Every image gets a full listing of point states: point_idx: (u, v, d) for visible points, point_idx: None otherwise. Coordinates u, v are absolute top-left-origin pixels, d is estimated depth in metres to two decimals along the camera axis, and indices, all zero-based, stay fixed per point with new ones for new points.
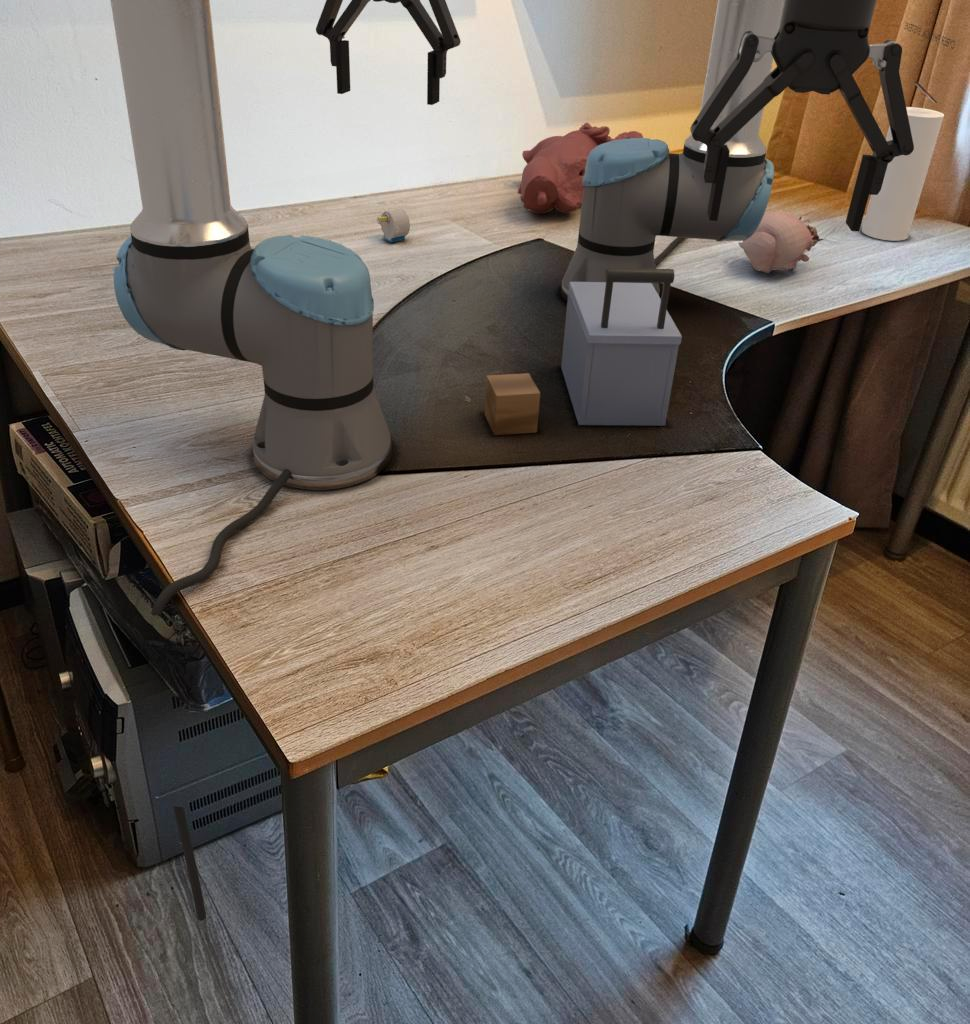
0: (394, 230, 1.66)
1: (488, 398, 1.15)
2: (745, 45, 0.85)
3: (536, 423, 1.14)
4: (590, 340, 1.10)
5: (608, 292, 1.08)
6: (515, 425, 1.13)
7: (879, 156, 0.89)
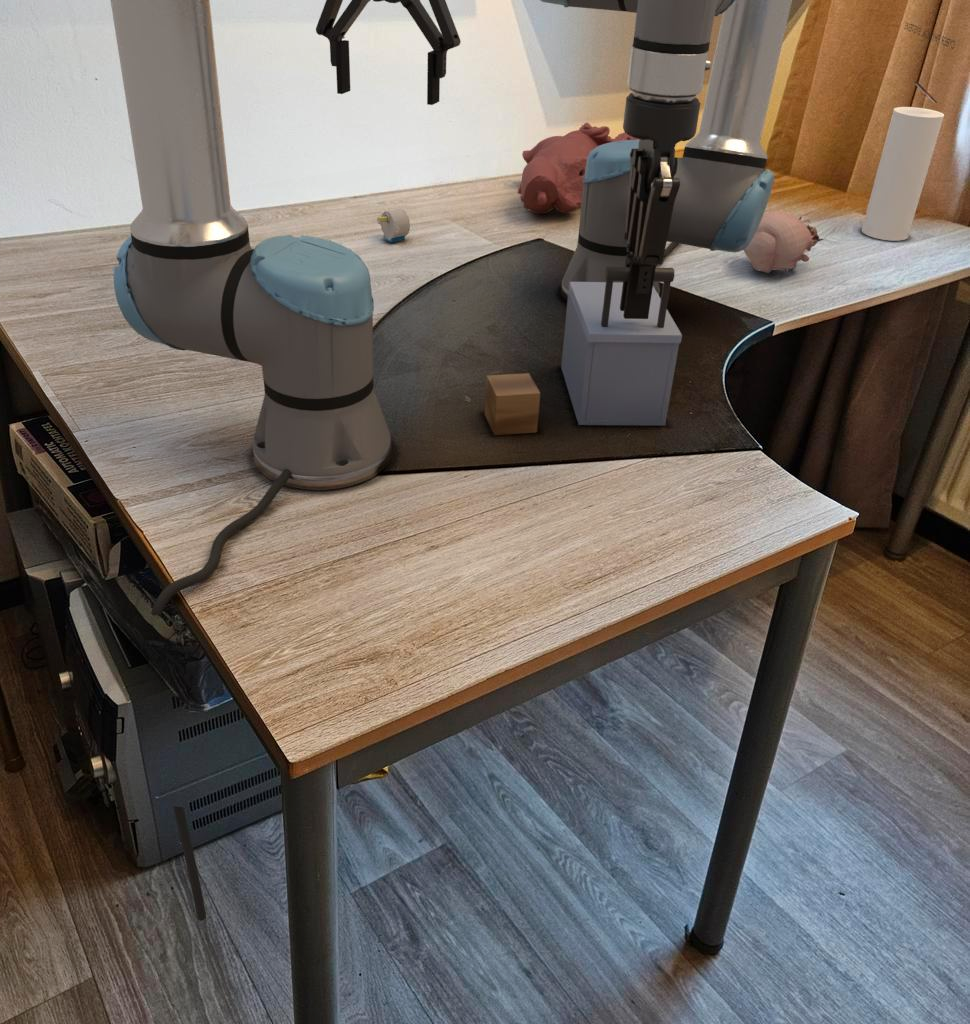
0: (394, 230, 1.66)
1: (488, 398, 1.15)
2: (677, 190, 0.97)
3: (536, 423, 1.14)
4: (590, 339, 1.09)
5: (608, 291, 1.08)
6: (515, 425, 1.13)
7: None
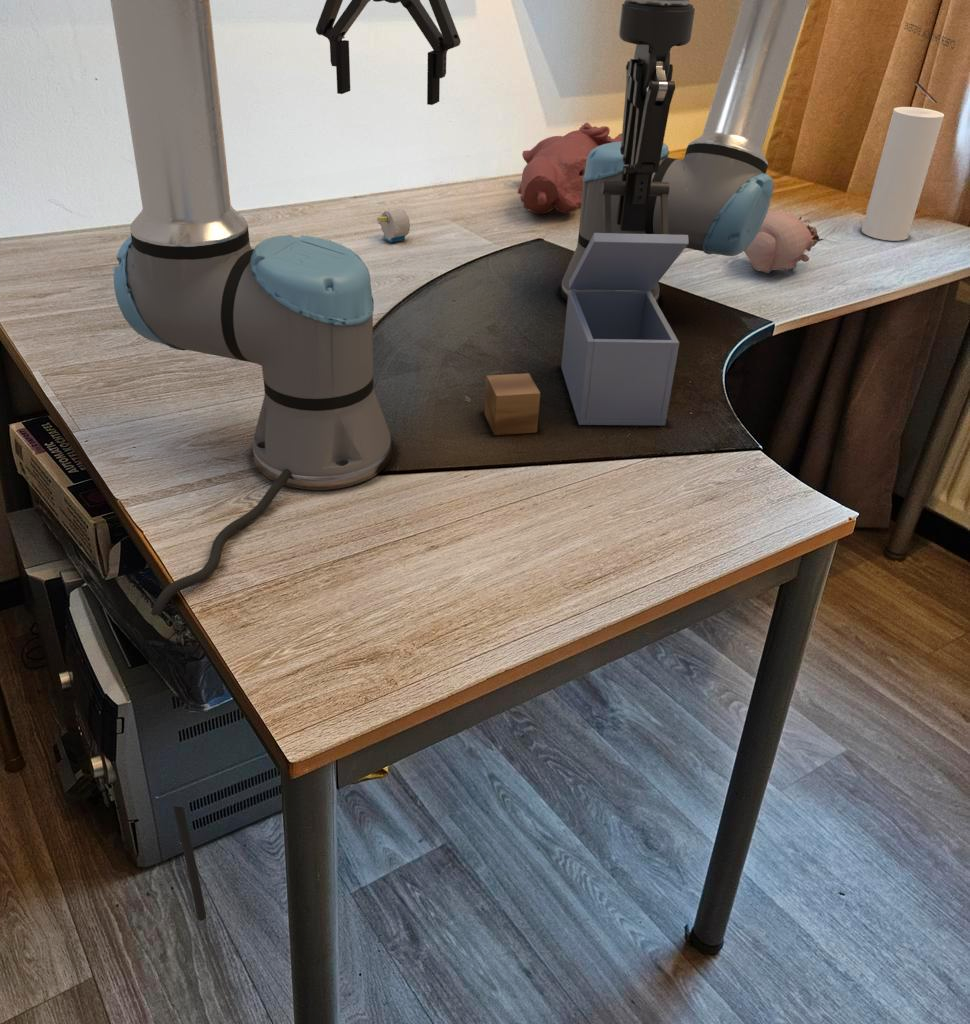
0: (394, 230, 1.66)
1: (488, 398, 1.15)
2: (672, 93, 0.99)
3: (536, 423, 1.14)
4: (595, 238, 1.07)
5: (607, 202, 1.09)
6: (515, 425, 1.13)
7: None
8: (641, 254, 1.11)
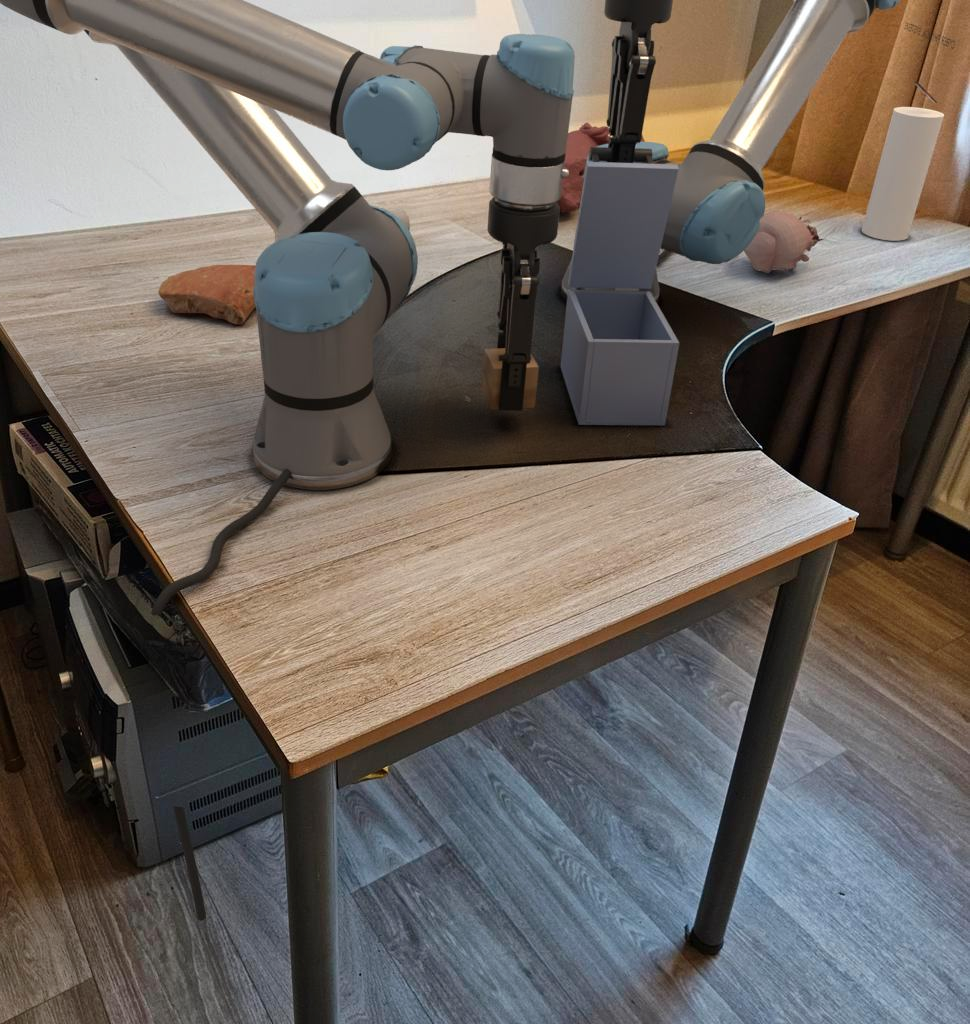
0: None
1: (485, 372, 1.13)
2: (653, 67, 1.06)
3: (534, 398, 1.12)
4: (588, 164, 1.11)
5: (596, 159, 1.16)
6: None
7: None
8: (635, 196, 1.14)
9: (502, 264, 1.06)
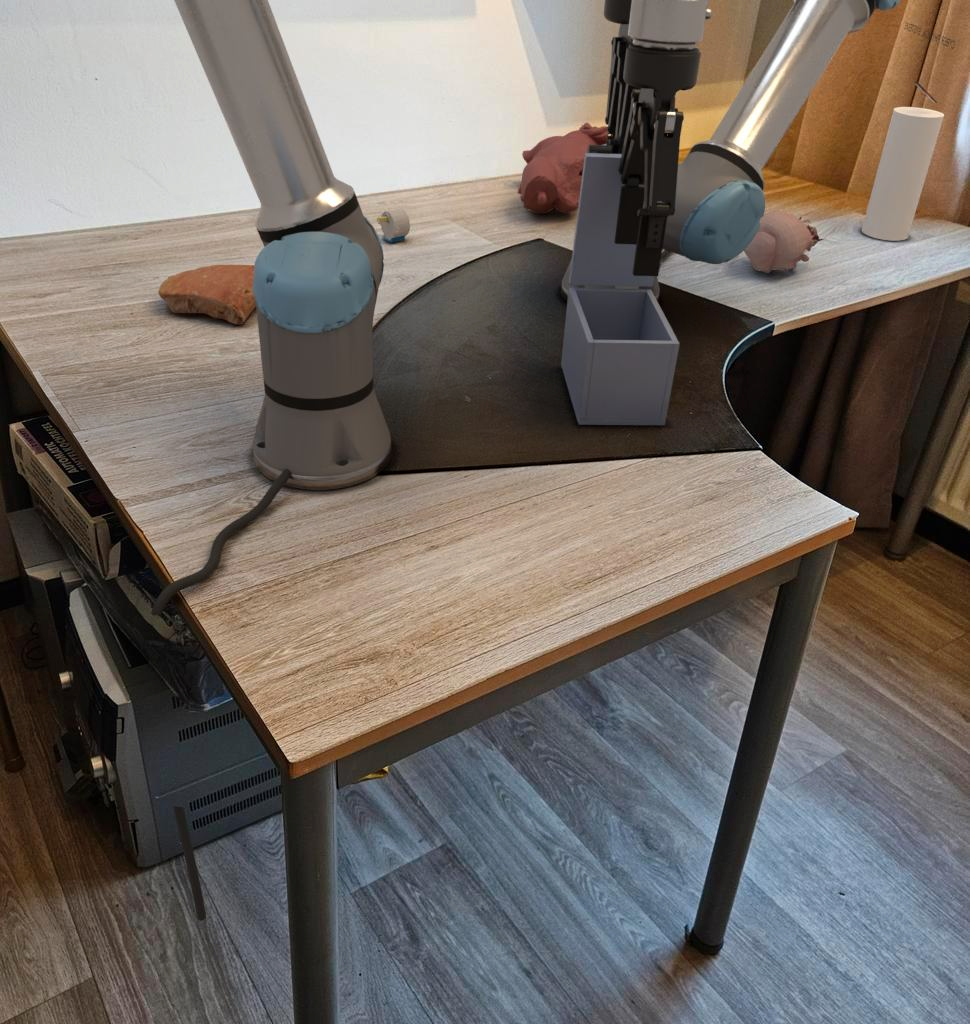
0: (394, 230, 1.66)
1: None
2: None
3: None
4: (587, 155, 1.11)
5: None
6: None
7: None
8: None
9: (635, 119, 1.02)
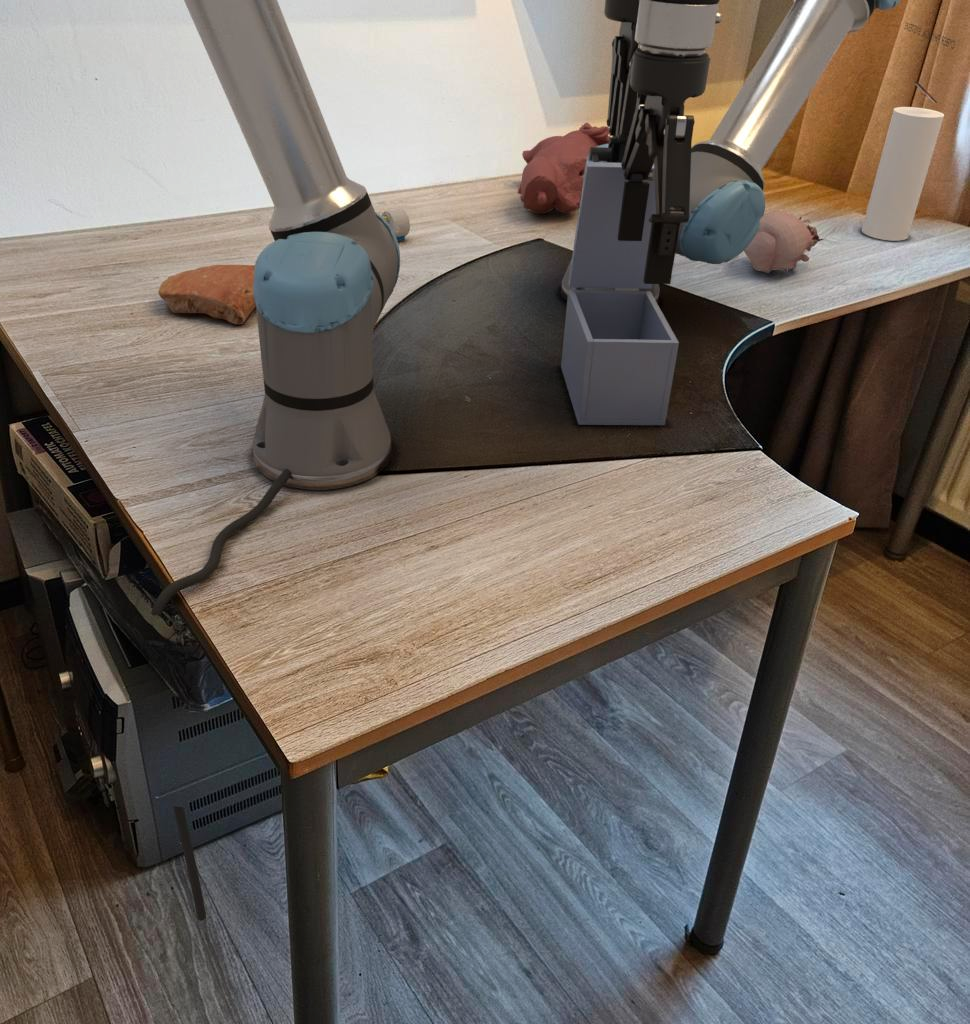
0: (394, 230, 1.66)
1: None
2: None
3: None
4: (588, 164, 1.11)
5: (595, 159, 1.16)
6: None
7: None
8: None
9: (641, 125, 0.99)
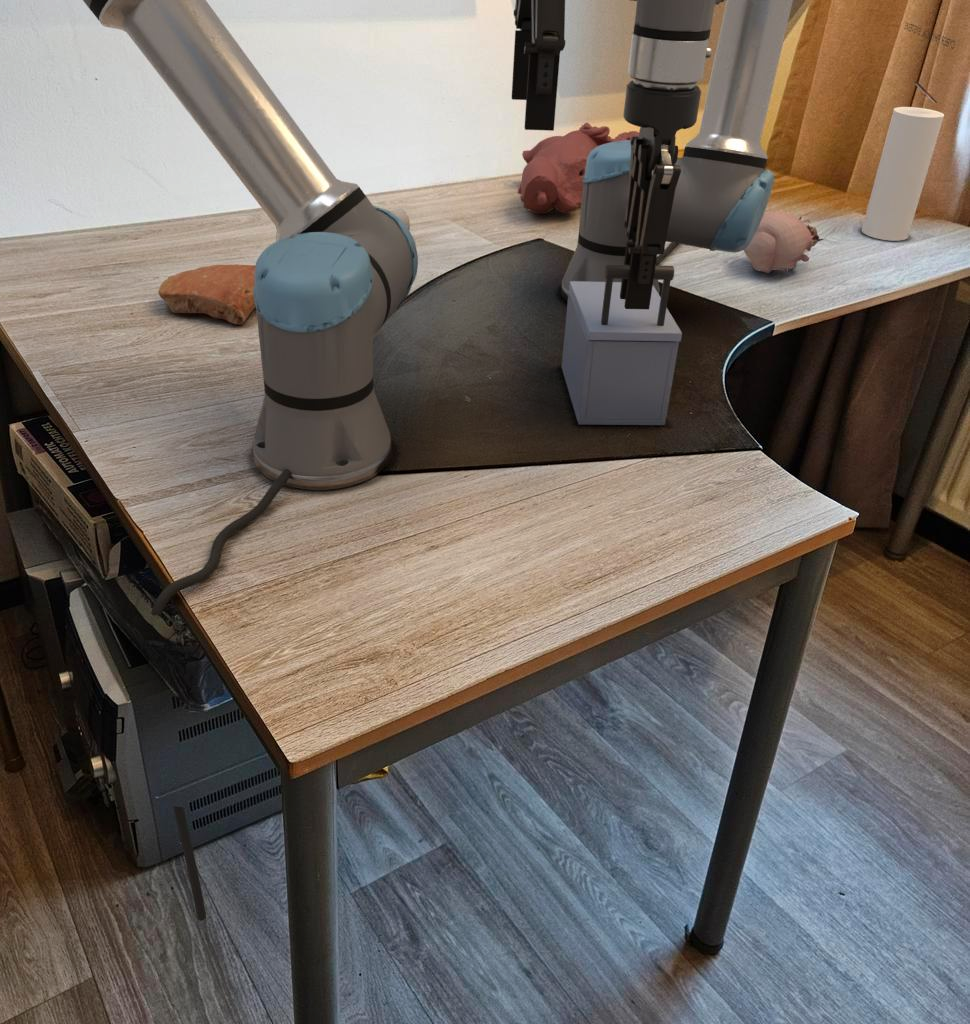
0: None
1: None
2: (678, 177, 0.97)
3: None
4: (590, 337, 1.09)
5: (608, 289, 1.08)
6: None
7: None
8: None
9: None
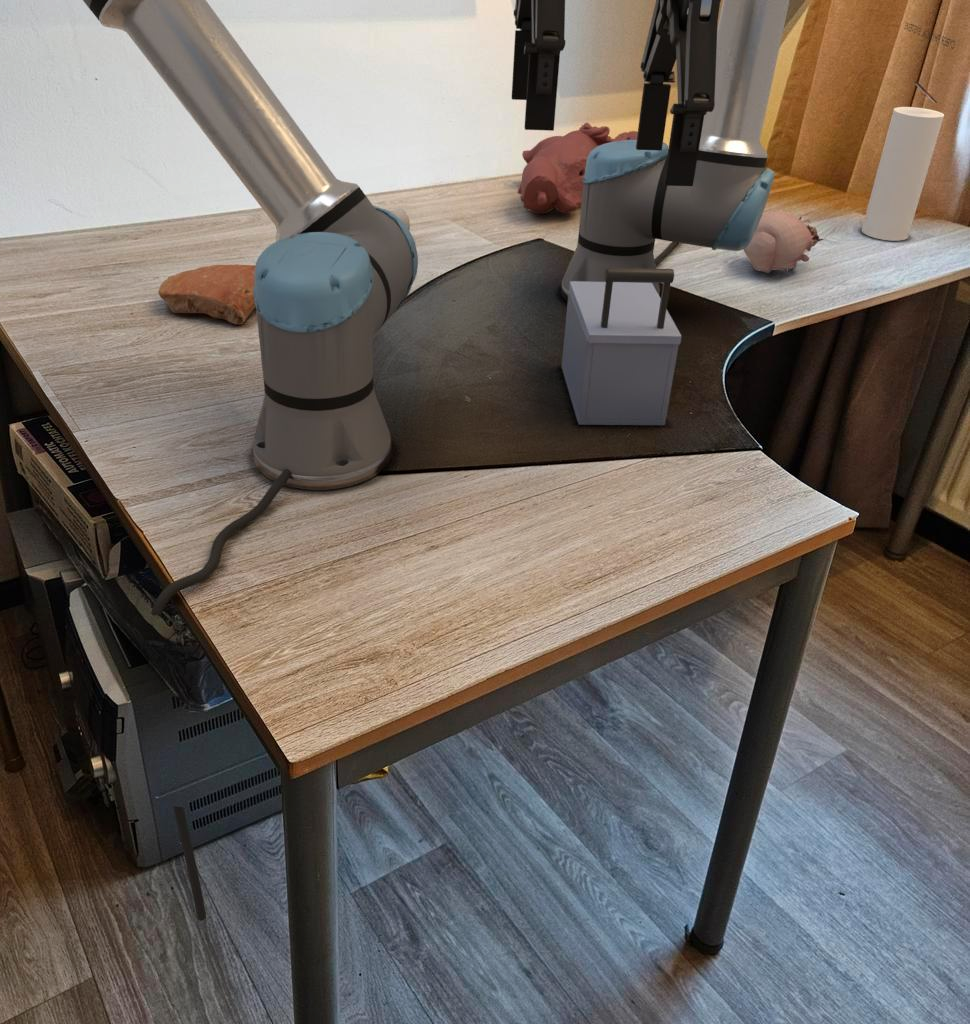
0: None
1: None
2: (719, 3, 0.84)
3: None
4: (590, 340, 1.10)
5: (608, 292, 1.09)
6: None
7: (668, 78, 1.00)
8: None
9: None
